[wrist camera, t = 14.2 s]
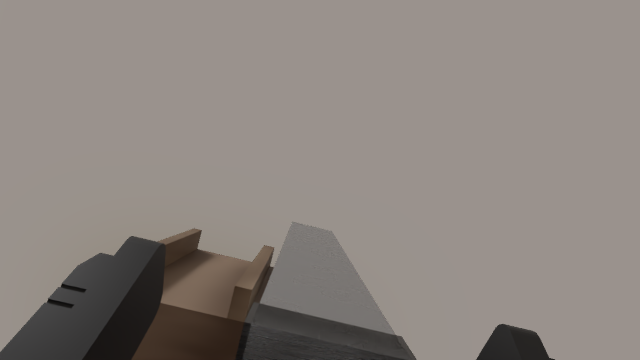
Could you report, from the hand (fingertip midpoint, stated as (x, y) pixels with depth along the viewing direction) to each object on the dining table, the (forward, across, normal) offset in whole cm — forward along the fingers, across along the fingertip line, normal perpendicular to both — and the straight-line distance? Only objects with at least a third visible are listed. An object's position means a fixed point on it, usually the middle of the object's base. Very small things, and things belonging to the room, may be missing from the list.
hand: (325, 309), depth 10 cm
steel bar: (+9, 0, +10) cm, 13 cm away
